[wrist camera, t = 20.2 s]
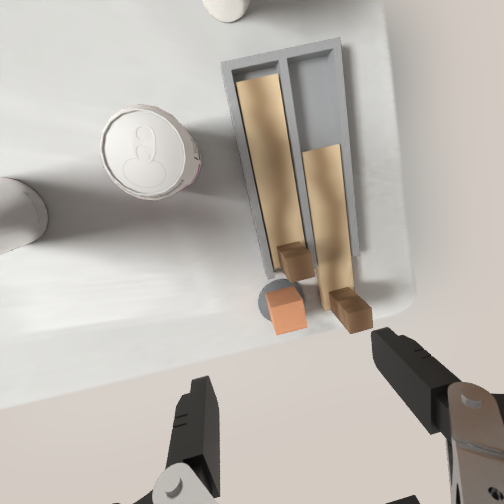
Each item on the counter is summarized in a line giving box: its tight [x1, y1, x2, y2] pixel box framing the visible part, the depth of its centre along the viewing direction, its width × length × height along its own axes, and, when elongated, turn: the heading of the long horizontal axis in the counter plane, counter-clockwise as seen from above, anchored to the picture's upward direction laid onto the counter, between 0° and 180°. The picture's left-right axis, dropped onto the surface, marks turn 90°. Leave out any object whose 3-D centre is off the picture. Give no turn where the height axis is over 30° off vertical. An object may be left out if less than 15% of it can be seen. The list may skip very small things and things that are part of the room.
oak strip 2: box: [301, 144, 373, 334], centre depth 38 cm, size 6×26×9 cm, turn 12°
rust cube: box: [265, 286, 307, 335], centre depth 43 cm, size 5×5×5 cm
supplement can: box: [100, 104, 202, 200], centre depth 30 cm, size 8×8×15 cm
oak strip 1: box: [235, 73, 315, 283], centre depth 35 cm, size 6×26×8 cm, turn 12°
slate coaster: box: [258, 279, 304, 321], centre depth 45 cm, size 8×8×1 cm
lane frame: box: [221, 37, 360, 279], centre depth 38 cm, size 15×30×2 cm, turn 12°
